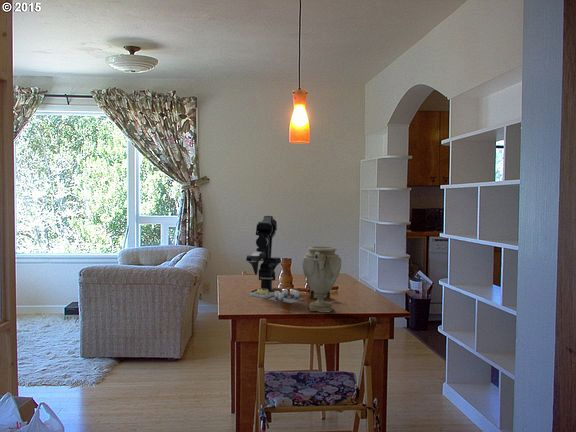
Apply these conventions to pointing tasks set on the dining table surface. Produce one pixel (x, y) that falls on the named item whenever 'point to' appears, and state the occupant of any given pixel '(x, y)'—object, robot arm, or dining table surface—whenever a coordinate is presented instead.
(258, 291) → the brass nut
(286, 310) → the dining table surface
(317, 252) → the urn
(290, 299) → the spacer board
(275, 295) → the spacer posts
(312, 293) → the ammunition clip
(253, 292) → the tray
